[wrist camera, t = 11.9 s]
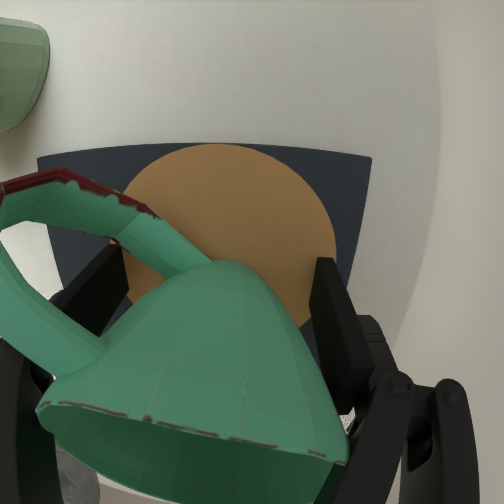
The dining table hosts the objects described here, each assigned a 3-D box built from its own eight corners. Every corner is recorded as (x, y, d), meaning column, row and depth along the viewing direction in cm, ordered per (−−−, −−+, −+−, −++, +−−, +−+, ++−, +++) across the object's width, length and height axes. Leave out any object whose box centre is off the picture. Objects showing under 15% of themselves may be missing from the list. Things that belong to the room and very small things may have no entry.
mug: (344, 319, 15) (387, 486, 6) (209, 374, 18) (185, 509, 9) (187, 79, 10) (-18, 26, 1) (56, 205, 13) (-76, 308, 4)
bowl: (130, 470, 37) (115, 530, 24) (58, 446, 39) (40, 493, 26) (67, 417, 28) (35, 496, 14) (0, 390, 30) (-30, 444, 16)
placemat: (369, 157, 12) (374, 159, 11) (315, 381, 19) (316, 388, 18) (40, 156, 12) (33, 159, 11) (93, 355, 19) (90, 361, 19)
